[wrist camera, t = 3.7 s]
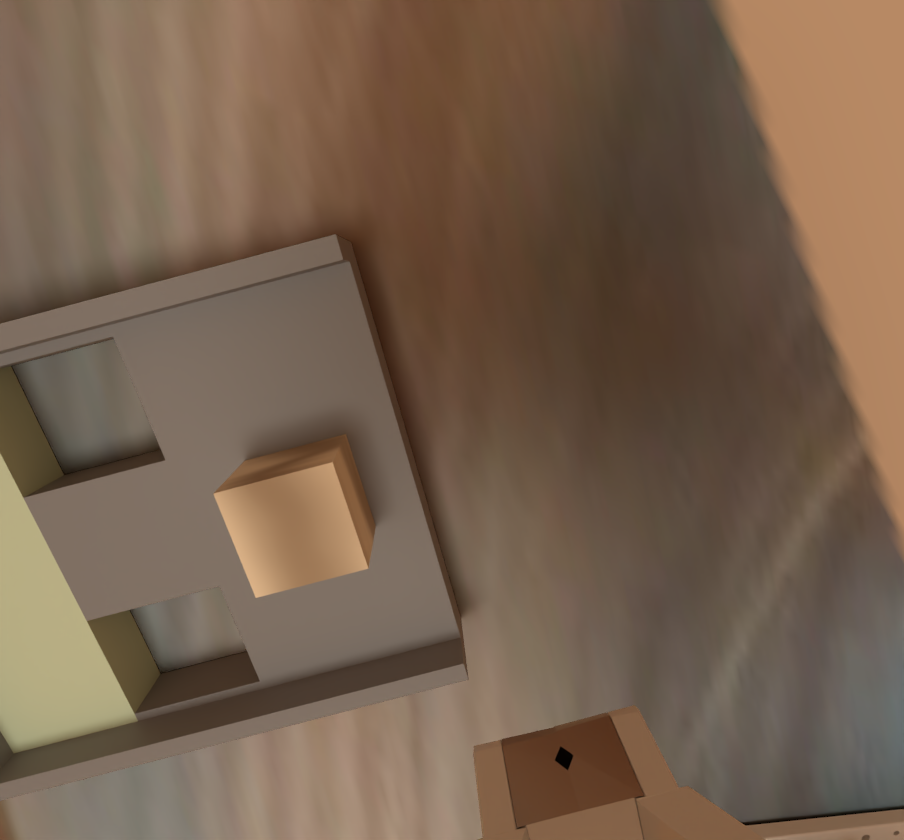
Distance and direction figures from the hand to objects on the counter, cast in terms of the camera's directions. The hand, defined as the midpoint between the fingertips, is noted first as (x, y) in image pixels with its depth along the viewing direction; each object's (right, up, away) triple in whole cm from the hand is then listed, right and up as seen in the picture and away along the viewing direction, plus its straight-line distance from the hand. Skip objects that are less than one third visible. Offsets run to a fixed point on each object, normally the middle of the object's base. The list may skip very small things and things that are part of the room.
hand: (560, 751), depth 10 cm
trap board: (-17, +1, +19) cm, 26 cm away
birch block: (-9, +2, +16) cm, 19 cm away
